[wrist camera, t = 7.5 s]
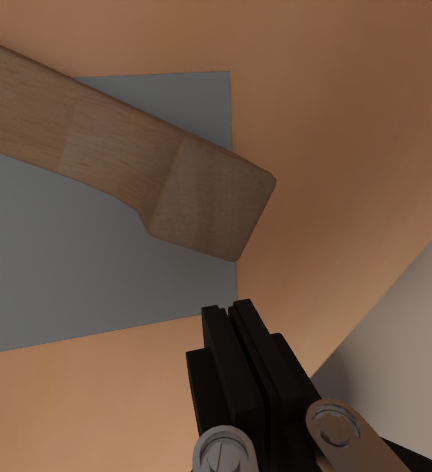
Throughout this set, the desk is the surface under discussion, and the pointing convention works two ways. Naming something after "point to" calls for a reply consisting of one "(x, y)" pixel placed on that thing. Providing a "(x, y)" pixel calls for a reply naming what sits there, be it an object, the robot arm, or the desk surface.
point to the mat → (106, 234)
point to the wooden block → (131, 158)
